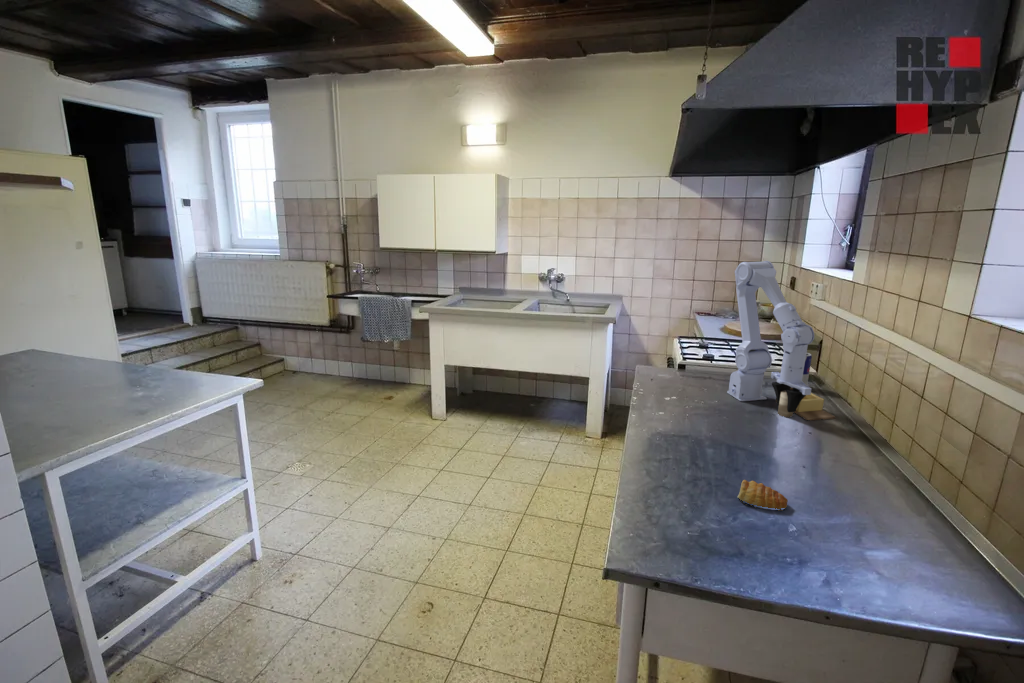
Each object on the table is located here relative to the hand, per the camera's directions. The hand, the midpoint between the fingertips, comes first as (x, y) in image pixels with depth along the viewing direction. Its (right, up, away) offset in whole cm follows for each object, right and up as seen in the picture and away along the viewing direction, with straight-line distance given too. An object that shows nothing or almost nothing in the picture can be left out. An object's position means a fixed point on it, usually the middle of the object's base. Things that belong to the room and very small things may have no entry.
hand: (786, 408), depth 147 cm
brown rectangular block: (+8, -1, +4) cm, 8 cm away
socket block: (+7, 0, +5) cm, 9 cm away
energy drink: (+17, +4, +23) cm, 28 cm away
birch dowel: (0, -2, +1) cm, 2 cm away
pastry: (-29, -14, -41) cm, 53 cm away
